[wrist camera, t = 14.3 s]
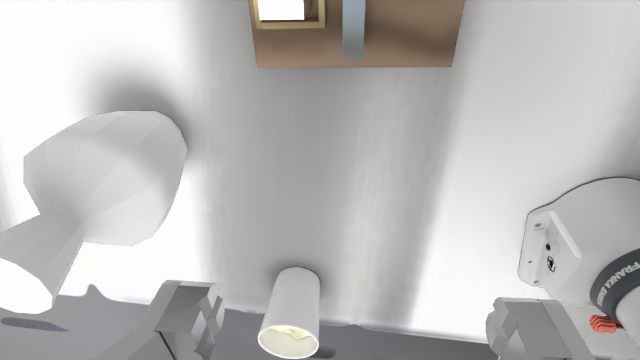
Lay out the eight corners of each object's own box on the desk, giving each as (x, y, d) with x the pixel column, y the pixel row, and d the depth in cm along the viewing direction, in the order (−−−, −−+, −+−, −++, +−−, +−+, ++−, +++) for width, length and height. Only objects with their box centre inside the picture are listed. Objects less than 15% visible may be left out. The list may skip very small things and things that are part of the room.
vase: (205, 189, 51) (105, 348, 30) (113, 165, 49) (-57, 315, 29) (210, 105, 42) (78, 245, 22) (100, 75, 41) (-148, 193, 21)
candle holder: (319, 301, 64) (313, 363, 55) (270, 292, 64) (255, 353, 54) (328, 269, 59) (324, 332, 49) (275, 259, 58) (259, 320, 49)
